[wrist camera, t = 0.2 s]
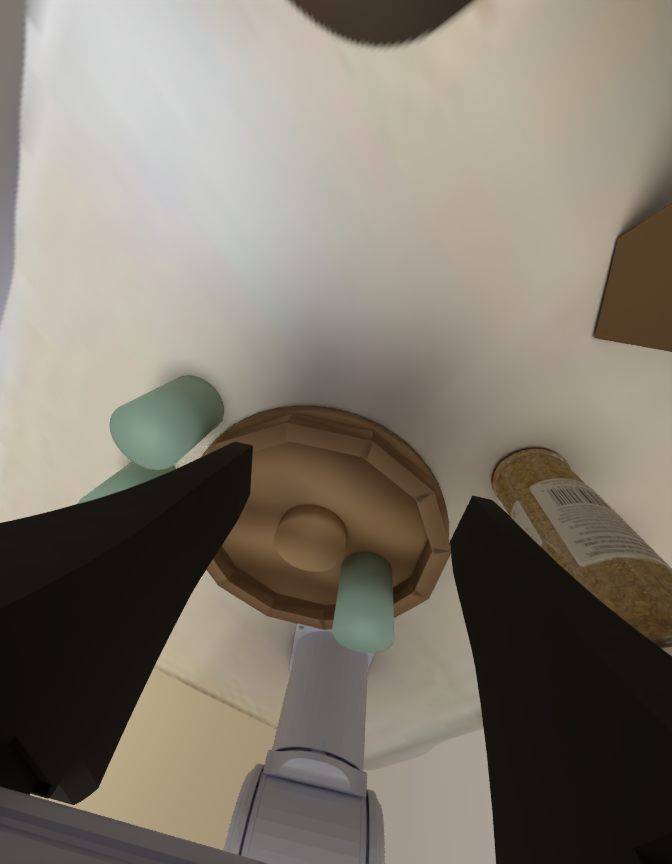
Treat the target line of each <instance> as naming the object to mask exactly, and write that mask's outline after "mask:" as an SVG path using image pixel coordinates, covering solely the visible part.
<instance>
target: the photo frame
mask: <svg viewBox="0 0 672 864" xmlns="http://www.w3.org/2000/svg"><path fill="white" fill-rule="evenodd" d="M595 338H597V339H603V340H609V341H614V342H620V343H625V344H631V345H637V346H642V347H648V348H653V349H659V350H665V351H670V352H672V203H671V204H669V205H668V206H666V207H665V208H663V209H662V210H660V211H659V212H657V213H656V214H654V215H653V216H651V217H650V218H648V219H647V220H645V221H644V222H642V223H641V224H639V225H638V226H636V227H635V228H633V229H632V230H630V231H629V232H627V233H626V234H624V235H623V236H621V237H620V238H618V241H617V245H616V249H615V254H614V258H613V262H612V266H611V271H610V275H609V279H608V283H607V288H606V292H605V296H604V300H603V304H602V309H601V313H600V317H599V321H598V326H597V330H596V334H595Z"/></svg>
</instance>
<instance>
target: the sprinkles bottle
mask: <svg viewBox="0 0 672 864" xmlns="http://www.w3.org/2000/svg"><path fill="white" fill-rule="evenodd" d="M492 483H493V489H494V492H495V494H496V496H497V497H498V499H499V500H500V501H502V503H503V505H504V507H505V509H506V510H507V512H508V514H509V516H510V517H511V518H512V519H513V520H514V521H515V522H516V523H517V524H518V525H519V526H520V527H521V528H522V529H523V530H524V531H525V532H526V533H527V534H528V535H529V536H530V537H531V538H532V539H533V540H534V541H535V542H536V543H537V544H538V545H539V546H541V547H542V548H543V549H544V550H545V551H546V552H547V553H548V554H549V555H550V556H551V557H552V558H553V559H554V560H555V561H556V562H557V563H558V564H559V565H561V566H562V567H563V568H564V569H565V570H566V571H567V572H568V573H569V574H570V575H572V576H573V577H574V578H575V579H576V580H577V581H578V582H579V583H580V584H582V585H583V586H584V587H585V588H586V589H587V590H588V591H589V592H591V593H592V594H593V595H594V596H595V597H597V598H598V599H599V600H600V601H601V602H602V603H604V604H605V605H606V606H607V607H609V608H610V609H611V610H612V611H614V612H615V613H616V614H617V615H619V616H620V617H621V618H622V619H624V620H625V621H626V622H627V623H628V624H630V625H631V626H632V627H634V628H635V629H636V630H637V631H639V632H640V633H641V634H643V635H644V636H645V637H647V638H648V639H649V640H651V641H652V642H653V643H654V644H656V645H657V646H659V647H660V648H661V649H663V650H664V651H665V652H667V653H668V654H670V655H671V656H672V569H671V567H670V566H669V565H668V564H667V563H666V562H665V561H664V560H663V559H662V558H661V557H660V556H659V555H658V554H657V553H656V552H655V551H654V550H653V549H652V548H651V547H650V546H649V545H648V544H647V543H646V542H645V541H644V540H643V539H642V538H641V537H640V536H639V535H638V534H637V533H636V532H635V531H634V530H633V529H632V528H631V527H630V526H629V525H628V524H627V523H626V522H625V521H624V520H623V519H622V518H621V517H620V516H619V515H618V514H617V513H616V512H615V511H614V510H613V509H612V508H611V507H610V506H609V505H608V504H607V503H606V502H605V501H604V500H603V499H602V498H601V497H600V496H599V495H598V494H597V493H596V492H595V491H594V490H593V489H591V488H590V487H589V486H587V485H586V484H585V483H584V482H583V481H582V480H581V479H580V478H579V477H578V476H577V475H576V474H575V473H573V471H572V470H571V469H570V466H569V465H568V463H567V462H566V460H565V459H564V458H563V457H561V456H560V455H559V454H557V453H555V452H552V451H549V450H543V449H527V450H523V451H519V452H516V453H514V454H512V455H511V456H509V457H507V458H506V459H505V460H503V461H502V462H501V463H500V464H499V466H498V467H497V468H496V470H495V472H494V477H493V481H492Z"/></svg>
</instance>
